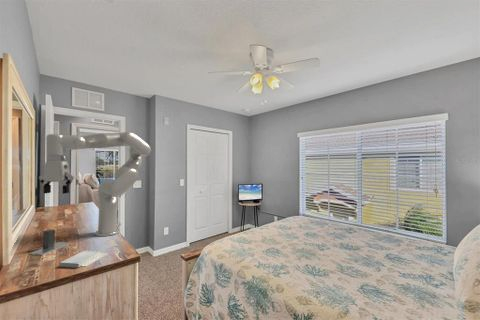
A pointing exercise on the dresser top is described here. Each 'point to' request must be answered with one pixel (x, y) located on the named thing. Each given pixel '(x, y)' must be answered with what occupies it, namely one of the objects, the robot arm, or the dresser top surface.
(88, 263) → the board
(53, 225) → the dresser top surface
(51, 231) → the scraper
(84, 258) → the hard drive
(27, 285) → the dresser top surface
